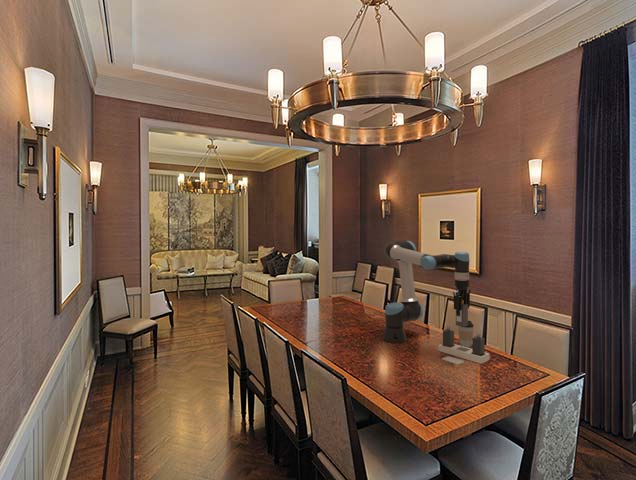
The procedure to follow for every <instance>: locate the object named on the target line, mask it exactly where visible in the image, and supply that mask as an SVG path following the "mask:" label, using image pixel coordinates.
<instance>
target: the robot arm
mask: <svg viewBox="0 0 636 480" xmlns="http://www.w3.org/2000/svg"><path fill="white" fill-rule="evenodd" d="M383 250H384V251H383V252H384V255H385V256H386V257H387V258H389V259H392V260H395V261H396V263H398V268H399V279H400V286H401V287H400V288H401V297H402V299H400V302H397V301H396V302H390V303H387V305H385V310H384V313H385V316H384V317H385V318H384V319H385V322H384V324H385V328H384V331H383V334H382V340H383V341H384V342H387V343H390V344H391V343H392V344H401V343H405V342H406V341H407V334H406V332H405V329H404V327H405V326H404V323H407V322H408V323H409V322H416V321H418V320H420V319H421V318H422V317H423V315H424V308H423V305H422V304H421V303H420V302H419V299H417V297H416V290H415V280H414V272H413V271H414V270H413V265H412V264H414V265H418V266H421V267H422V268H423V269H424V270H433V269H434V270H435V269H443V268H445V269H446V268H450V269H454V287H456V289H455V291H453V292H452V295H453V309H454V310H455V316H456V315H457V321H458V322H462V310H461V304H462V300H464V304H468V310H469V309H470V306H471V302H470V301H471V289H468V288H469V287H470V261H471V260H470V254H469V252H466V251H456V252H454V254H446V253H442V254H437V255H431V254H427V253H425V252H419V251H417V247H416V245H415V243H413V242H412V241H411V240H391V241H389V242H388V243H386V244H385V245H384V249H383Z"/></svg>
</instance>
